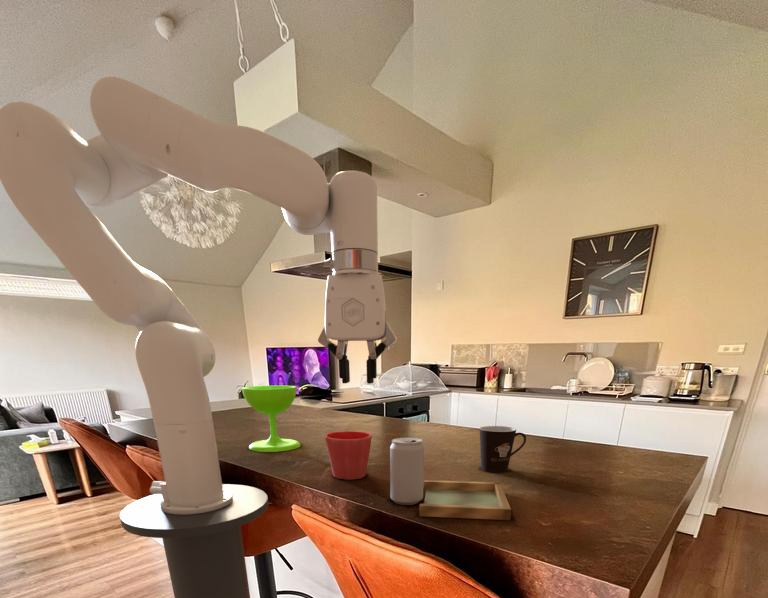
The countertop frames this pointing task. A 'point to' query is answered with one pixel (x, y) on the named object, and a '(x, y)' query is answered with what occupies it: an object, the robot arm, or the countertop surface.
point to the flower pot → (348, 453)
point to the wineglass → (271, 414)
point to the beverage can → (406, 470)
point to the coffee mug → (497, 447)
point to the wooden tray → (465, 500)
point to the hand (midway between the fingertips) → (358, 381)
